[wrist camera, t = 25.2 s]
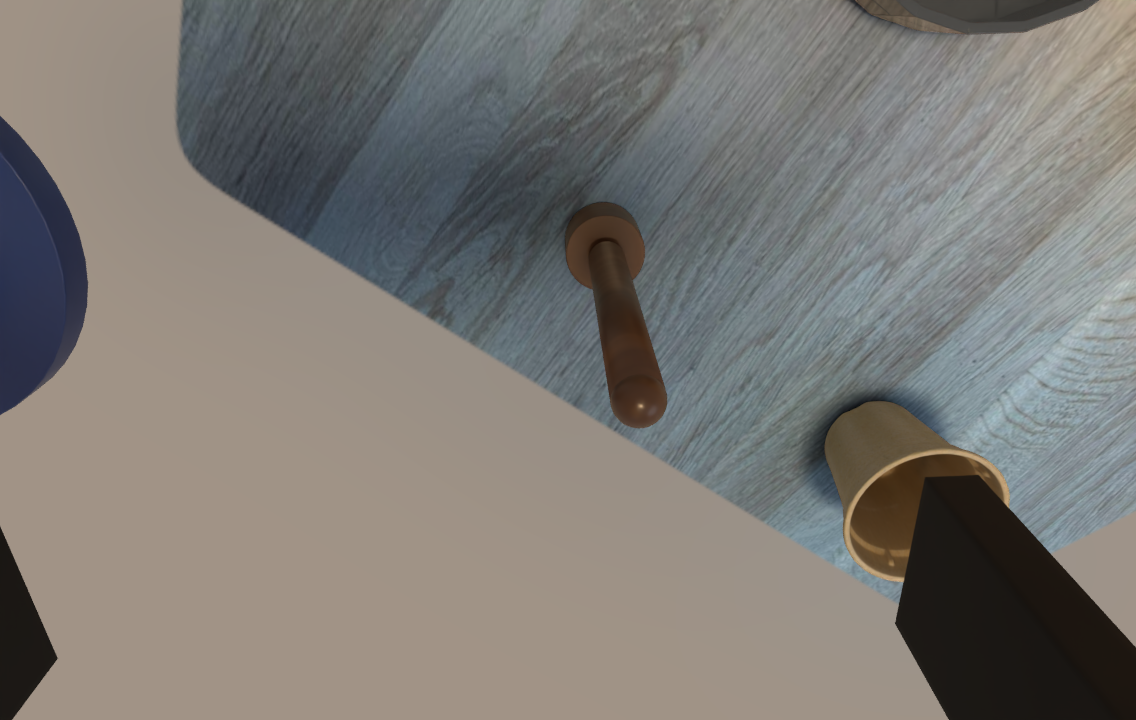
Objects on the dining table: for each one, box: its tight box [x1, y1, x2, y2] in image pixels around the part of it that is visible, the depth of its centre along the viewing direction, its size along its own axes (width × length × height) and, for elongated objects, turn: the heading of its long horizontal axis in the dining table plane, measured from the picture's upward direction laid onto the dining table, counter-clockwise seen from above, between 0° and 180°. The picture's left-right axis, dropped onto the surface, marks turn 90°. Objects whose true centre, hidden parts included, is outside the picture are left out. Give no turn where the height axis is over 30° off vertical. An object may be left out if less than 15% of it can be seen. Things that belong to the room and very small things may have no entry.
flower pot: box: [824, 401, 1010, 582], centre depth 47 cm, size 9×9×9 cm
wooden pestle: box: [565, 202, 667, 428], centre depth 35 cm, size 4×4×21 cm
